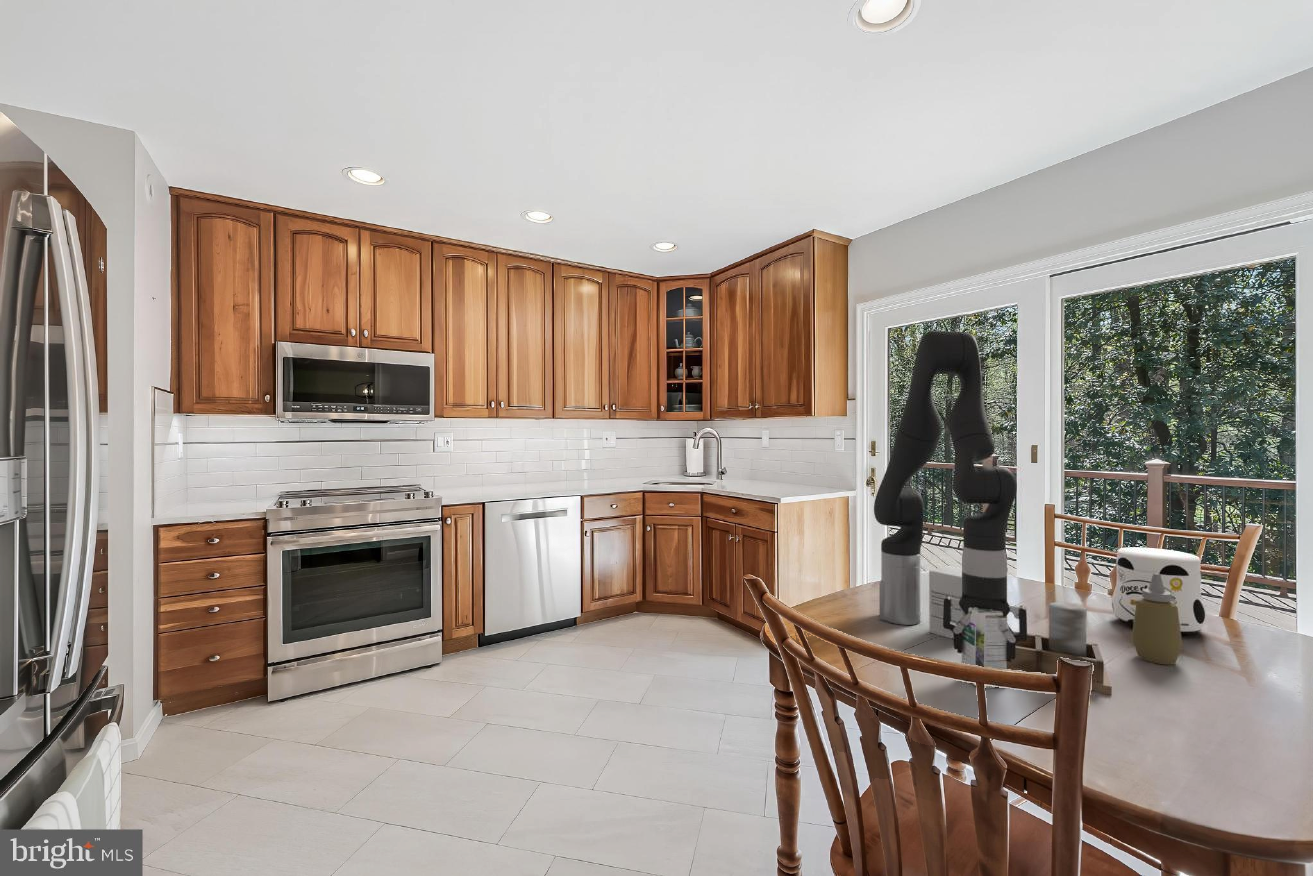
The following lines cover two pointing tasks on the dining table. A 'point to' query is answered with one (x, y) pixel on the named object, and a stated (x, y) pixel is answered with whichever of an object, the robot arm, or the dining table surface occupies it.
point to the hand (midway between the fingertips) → (984, 656)
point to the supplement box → (940, 586)
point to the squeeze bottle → (1157, 625)
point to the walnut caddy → (1062, 646)
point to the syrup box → (984, 640)
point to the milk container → (1177, 579)
